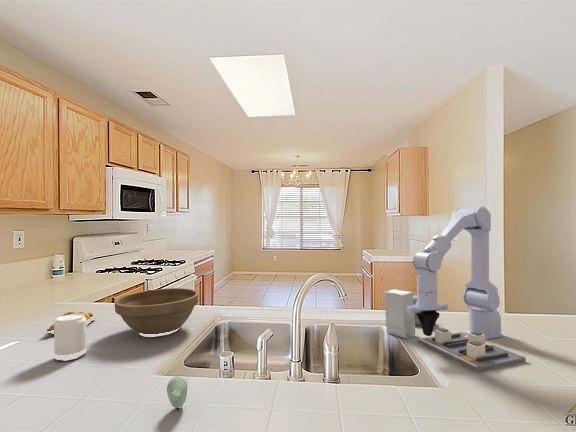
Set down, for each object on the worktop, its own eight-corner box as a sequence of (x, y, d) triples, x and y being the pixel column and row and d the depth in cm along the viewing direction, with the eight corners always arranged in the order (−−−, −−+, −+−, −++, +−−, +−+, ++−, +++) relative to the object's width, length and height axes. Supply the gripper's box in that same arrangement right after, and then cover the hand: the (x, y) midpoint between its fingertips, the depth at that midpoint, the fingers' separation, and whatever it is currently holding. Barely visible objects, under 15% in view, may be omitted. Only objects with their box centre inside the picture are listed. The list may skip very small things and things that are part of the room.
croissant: (89, 328, 137) (82, 310, 138) (108, 317, 135) (100, 300, 136) (42, 346, 116) (33, 325, 117) (63, 334, 115) (54, 313, 116)
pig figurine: (181, 419, 68) (181, 386, 68) (161, 420, 67) (161, 386, 68) (191, 398, 76) (191, 368, 76) (173, 398, 75) (173, 368, 76)
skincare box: (415, 335, 114) (415, 292, 114) (404, 339, 110) (403, 294, 111) (395, 328, 121) (395, 288, 121) (384, 332, 117) (383, 290, 118)
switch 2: (476, 353, 95) (475, 340, 95) (485, 357, 92) (485, 343, 92) (466, 355, 94) (466, 341, 94) (475, 359, 91) (475, 345, 91)
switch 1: (443, 339, 106) (443, 327, 106) (451, 342, 103) (451, 330, 103) (435, 340, 105) (435, 328, 105) (442, 344, 102) (442, 331, 102)
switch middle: (476, 343, 103) (476, 330, 103) (485, 346, 100) (484, 333, 100) (467, 344, 102) (467, 331, 102) (476, 348, 99) (476, 335, 99)
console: (460, 335, 113) (460, 329, 113) (525, 361, 92) (525, 354, 92) (417, 342, 107) (417, 336, 107) (476, 372, 86) (476, 364, 86)
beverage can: (92, 354, 101) (92, 314, 102) (65, 364, 94) (65, 322, 94) (75, 349, 105) (75, 312, 105) (48, 359, 98) (48, 319, 98)
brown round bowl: (95, 341, 112) (95, 302, 113) (153, 317, 139) (153, 285, 140) (164, 350, 104) (164, 308, 104) (213, 322, 131) (212, 289, 131)
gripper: (435, 286, 108) (436, 328, 108) (399, 290, 104) (399, 333, 104) (453, 290, 102) (453, 335, 102) (414, 294, 97) (415, 341, 97)
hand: (427, 334), depth 102 cm, fingers closed
